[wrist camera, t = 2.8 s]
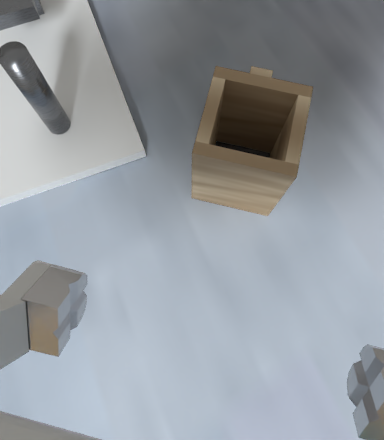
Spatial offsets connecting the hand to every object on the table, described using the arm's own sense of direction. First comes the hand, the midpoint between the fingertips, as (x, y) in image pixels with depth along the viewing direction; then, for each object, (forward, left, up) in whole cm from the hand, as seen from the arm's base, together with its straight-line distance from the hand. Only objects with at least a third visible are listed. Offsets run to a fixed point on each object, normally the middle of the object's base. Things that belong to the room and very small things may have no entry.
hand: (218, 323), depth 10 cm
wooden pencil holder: (-12, -6, -13) cm, 18 cm away
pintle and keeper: (-6, -21, -13) cm, 25 cm away
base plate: (-4, -21, -13) cm, 25 cm away
